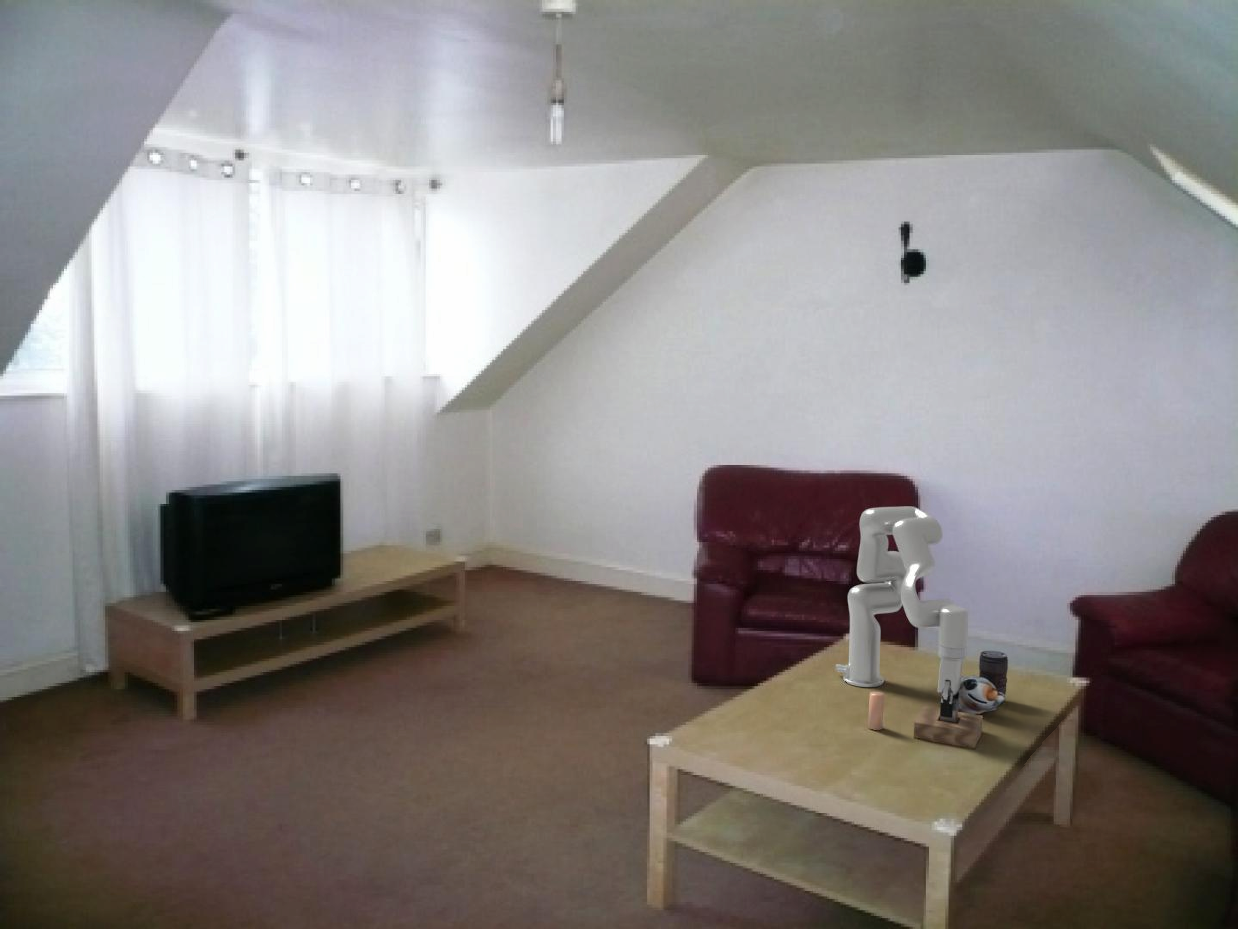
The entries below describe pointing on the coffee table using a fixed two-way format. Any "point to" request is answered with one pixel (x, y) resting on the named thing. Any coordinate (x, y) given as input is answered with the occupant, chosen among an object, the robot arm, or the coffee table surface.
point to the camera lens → (994, 669)
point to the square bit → (955, 713)
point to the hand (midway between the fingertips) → (949, 711)
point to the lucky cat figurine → (978, 695)
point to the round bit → (876, 710)
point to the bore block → (948, 728)
